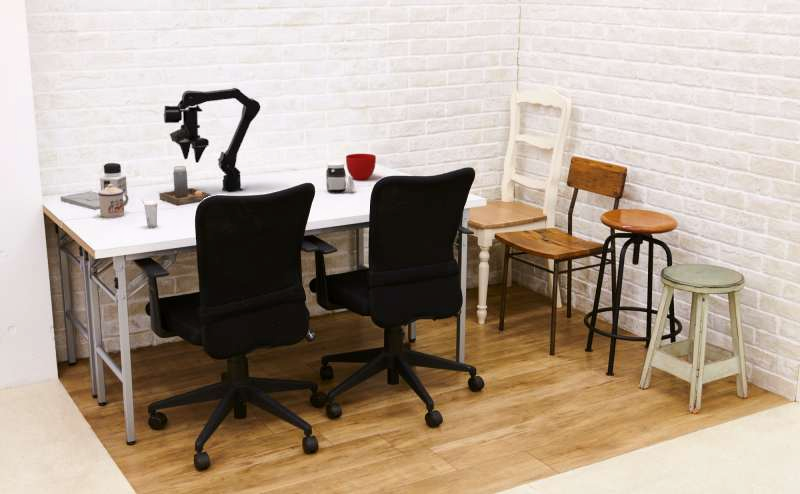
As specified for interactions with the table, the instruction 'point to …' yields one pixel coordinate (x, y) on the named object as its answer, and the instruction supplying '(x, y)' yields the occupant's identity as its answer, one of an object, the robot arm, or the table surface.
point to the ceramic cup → (360, 165)
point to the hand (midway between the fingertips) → (191, 160)
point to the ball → (198, 193)
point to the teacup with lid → (112, 201)
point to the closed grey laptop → (84, 199)
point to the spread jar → (338, 178)
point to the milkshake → (151, 213)
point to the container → (113, 177)
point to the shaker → (180, 182)
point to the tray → (181, 201)
